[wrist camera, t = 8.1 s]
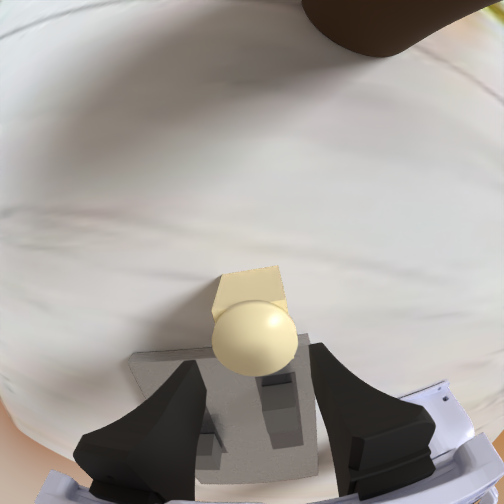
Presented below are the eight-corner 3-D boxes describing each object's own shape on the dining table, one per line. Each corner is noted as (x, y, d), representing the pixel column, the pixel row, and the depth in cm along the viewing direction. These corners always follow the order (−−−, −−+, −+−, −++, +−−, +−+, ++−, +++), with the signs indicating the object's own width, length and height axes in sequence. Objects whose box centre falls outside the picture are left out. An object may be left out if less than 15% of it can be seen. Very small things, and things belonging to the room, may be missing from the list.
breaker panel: (307, 333, 21) (311, 345, 20) (316, 466, 27) (318, 476, 26) (133, 352, 22) (126, 363, 21) (202, 475, 28) (200, 485, 27)
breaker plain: (292, 382, 21) (296, 406, 18) (295, 405, 22) (298, 429, 19) (261, 386, 21) (262, 411, 18) (266, 410, 22) (267, 433, 19)
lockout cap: (281, 260, 20) (292, 299, 14) (289, 317, 21) (301, 369, 15) (217, 271, 20) (202, 313, 14) (230, 326, 21) (222, 380, 15)
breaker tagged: (214, 433, 23) (211, 455, 20) (222, 449, 24) (219, 470, 21) (190, 434, 23) (185, 455, 21) (199, 449, 24) (195, 469, 21)
